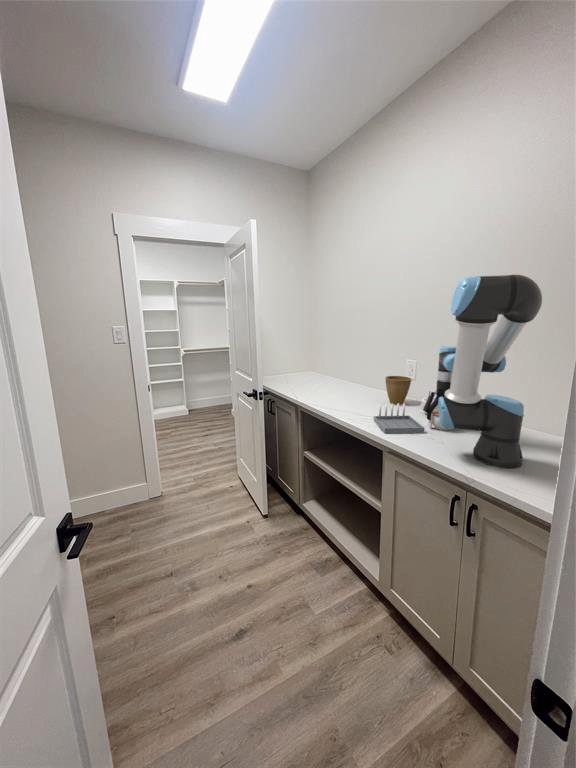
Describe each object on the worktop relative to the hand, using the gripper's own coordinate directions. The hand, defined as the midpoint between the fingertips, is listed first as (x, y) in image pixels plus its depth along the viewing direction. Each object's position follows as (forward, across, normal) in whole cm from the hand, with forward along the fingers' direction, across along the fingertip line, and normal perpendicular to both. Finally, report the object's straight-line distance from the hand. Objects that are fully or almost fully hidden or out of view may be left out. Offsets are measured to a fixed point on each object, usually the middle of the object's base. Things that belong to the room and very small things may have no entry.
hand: (441, 425), depth 146 cm
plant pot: (+1, +6, -44) cm, 44 cm away
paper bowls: (+1, -7, -21) cm, 22 cm away
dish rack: (+1, +20, -3) cm, 20 cm away
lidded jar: (+1, 0, 0) cm, 1 cm away
